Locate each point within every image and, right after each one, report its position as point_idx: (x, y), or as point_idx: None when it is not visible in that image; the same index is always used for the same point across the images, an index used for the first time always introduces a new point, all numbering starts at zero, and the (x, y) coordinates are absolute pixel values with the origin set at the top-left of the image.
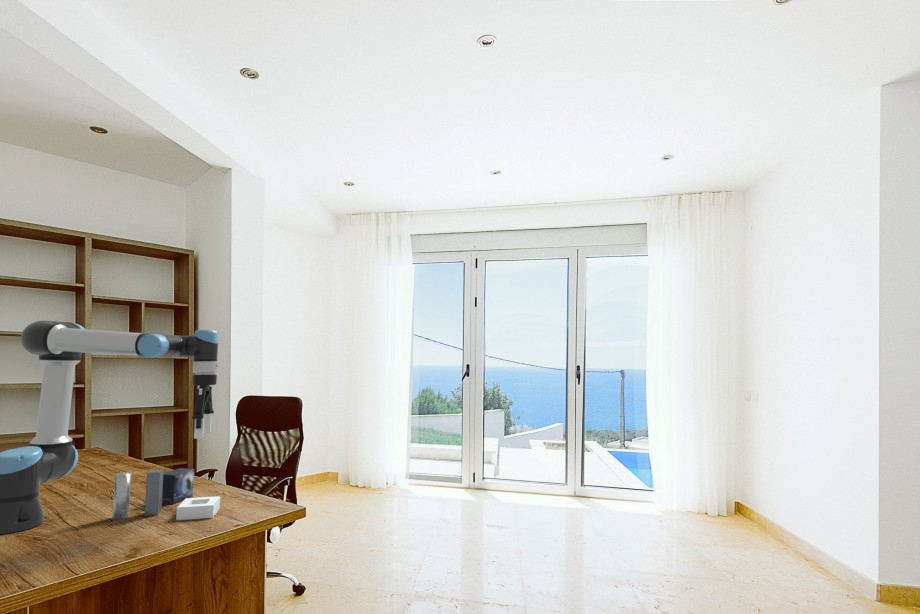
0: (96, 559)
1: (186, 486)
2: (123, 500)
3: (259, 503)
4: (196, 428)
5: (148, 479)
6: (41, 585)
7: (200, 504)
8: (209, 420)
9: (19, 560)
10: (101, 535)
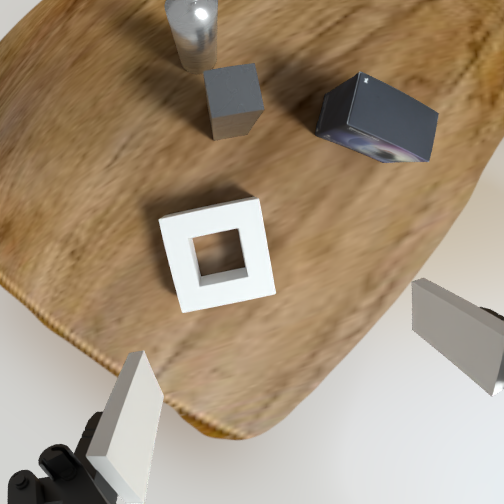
0: None
1: (374, 152)
2: (180, 51)
3: (301, 360)
4: (96, 416)
5: (205, 86)
6: None
7: (188, 274)
8: (462, 361)
9: None
10: (70, 102)
